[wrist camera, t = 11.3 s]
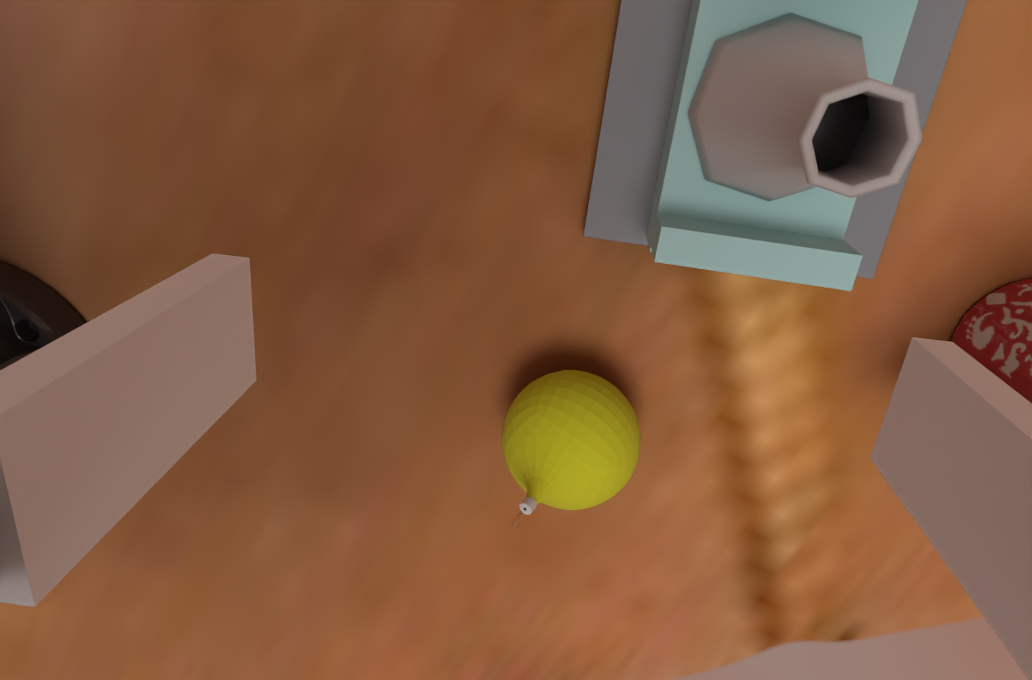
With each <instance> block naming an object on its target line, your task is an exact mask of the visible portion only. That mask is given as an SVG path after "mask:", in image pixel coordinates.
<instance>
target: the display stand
mask: <svg viewBox="0 0 1032 680" xmlns="http://www.w3.org/2000/svg"><path fill="white" fill-rule="evenodd" d="M966 3H967V0H621V6H620V12H619V18H618V24H617V31H616V37H615V43H614V49H613V55H612V62H611V68H610V74H609V80H608V86H607V93H606V99H605V105H604V111H603V117H602V124H601V130H600V136H599V142H598V148H597V154H596V161H595V167H594V173H593V179H592V185H591V192H590V198H589V204H588V210H587V216H586V223H585V229H584V236H585V237H591V238H598V239H605V240H612V241H619V242H625V243H632V244H639V245H646V246H649V251H650V252H652V254H653V258H654V262H658V263H665V264H672V265H679V266H685V267H692V268H699V269H706V270H712V271H719V272H726V273H733V274H739V275H746V276H753V277H759V278H766V279H773V280H780V281H786V282H793V283H800V284H807V285H813V286H820V287H827V288H834V289H840V290H847V291H851V290H852V287H853V284H854V281H855V278H856V277H863V278H870V279H873V276H874V273H875V270H876V267H877V264H878V261H879V259H880V256H881V253H882V250H883V247H884V244H885V241H886V238H887V235H888V232H889V229H890V226H891V223H892V220H893V217H894V214H895V211H896V209H897V206H898V203H899V200H900V197H901V194H902V191H903V188H904V185H905V182H906V179H907V176H908V173H909V170H910V167H911V164H912V162H913V159H914V156H915V154H914V156H913V158H912V160H911V161H910V163H909V165H908V167H907V169H906V171H905V173H904V175H903V176H902V178H901V180H900V182H899V184H896V185H893V186H890V187H886V188H883V189H880V190H877V191H873V192H870V193H867V194H863V195H860V196H857V197H853V198H849V197H846V196H843V195H840V194H837V193H834V192H831V191H828V190H825V189H822V188H819V187H815V188H811V189H808V190H805V191H802V192H798V193H795V194H792V195H789V196H786V197H782V198H779V199H776V200H773V201H766V200H763V199H760V198H757V197H754V196H751V195H748V194H745V193H742V192H739V191H736V190H733V189H730V188H727V187H724V186H721V185H718V184H715V183H712V182H709V181H706V180H705V178H704V174H703V170H702V166H701V162H700V159H699V155H698V151H697V147H696V143H695V139H694V135H693V131H692V127H691V124H690V120H689V116H688V111H689V109H690V106H691V104H692V101H693V99H694V96H695V93H696V91H697V88H698V86H699V83H700V81H701V78H702V76H703V73H704V70H705V68H706V65H707V63H708V60H709V58H710V55H711V53H712V50H713V47H714V45H715V42H716V40H718V39H721V38H724V37H727V36H729V35H732V34H735V33H737V32H740V31H743V30H746V29H748V28H751V27H754V26H756V25H759V24H762V23H764V22H767V21H770V20H773V19H775V18H778V17H781V16H783V15H786V14H789V13H794V14H797V15H800V16H803V17H806V18H808V19H811V20H814V21H817V22H820V23H823V24H826V25H829V26H832V27H835V28H838V29H841V30H844V31H847V32H850V33H853V34H856V35H859V36H862V41H863V47H864V53H865V59H866V65H867V71H868V77H869V78H872V79H875V80H878V81H881V82H884V83H887V84H890V85H893V86H896V87H899V88H902V89H905V90H908V91H911V92H914V93H916V100H917V107H918V114H919V120H920V127H921V134H922V132H923V129H924V126H925V123H926V120H927V117H928V114H929V112H930V109H931V106H932V103H933V100H934V97H935V94H936V91H937V88H938V85H939V82H940V79H941V76H942V73H943V70H944V67H945V65H946V62H947V59H948V56H949V53H950V50H951V47H952V44H953V41H954V38H955V35H956V32H957V29H958V26H959V23H960V20H961V17H962V15H963V12H964V9H965V6H966ZM915 153H916V152H915Z"/></svg>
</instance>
